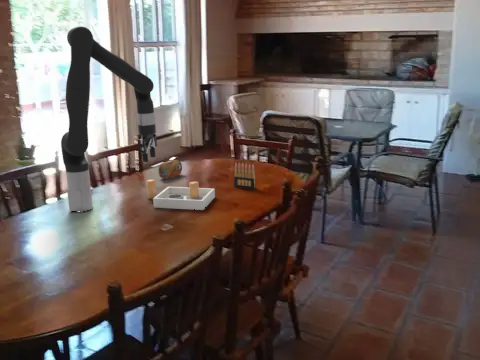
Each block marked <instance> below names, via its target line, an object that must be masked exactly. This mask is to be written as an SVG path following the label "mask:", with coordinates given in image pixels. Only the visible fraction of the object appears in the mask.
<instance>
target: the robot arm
mask: <svg viewBox="0 0 480 360" xmlns="http://www.w3.org/2000/svg"><path fill="white" fill-rule="evenodd" d="M66 38H67V40H66V41H67V43H68V44H69V46H70V53H71V54H70V66H69V70H68V73H67V76H66V82H65V83H66V85H65V105H66V109H67V114H68V122H69V123H68V131H67V132H65V133H64V134H63V135H62V137H61V140H60V146H61V154H62V160H63V161H62V162H63V165H64V167H65V174H66V175H65V176H66V183H67V184H66V185H67V201H68V208H69V212H70V211H80V212H79V213H84V212H83V211H85V212H88V211H87V210H89V211H90V209H91V210H92V209H93V207H94V206H93V197H92V189H91V179H90V178H91V177H90V167H89V162H88V161H87V157H86V152H87V150H88V148H89V133H88V130H89V129H88V119H89V107H90V106H89V105H90V95H91V92H90V91H91V58H92V59H93V60H95V61H96V62H98V63H99V64H100V65H101V66H103V67H105V68H106V69H107V70H109V71H110V73H112V74H113V75H115V77H118V78H119V79H121V80H122V81H124V82H126V83H128V84H129V85H131V87H133V91H134V95H135V100H136V111H137V116H136V117H137V119H136V120H137V128H138V135H140V136H141V137H142V138H139V139H138V147H139V148H138V149H139V154H142V162H144V163H148V162H149V157H150V158H155V157H156V148H157V147H158V141H157V125H156V116H155V111H154V110H155V106H154V101H153V99H152V96H151V92H153V89H154V87H155V86H154V82H153V80H152V79H151V78H150V77H149V76H147V75H146V74H144V73H142V72H141V71H139V70H137V69H136V68H135V67H134V66H132V65H131V64H130V63H128V62H127V61H126V60H125V59H123V58H122V57H120V56H118V55H117V54H115V53H113V52H112V51H110V50H108V49H107V48H106V47H103V45H101V44H99V42H97V41H96V40H95V39H94V35H93V33H92V31H91V30H90V29H89V28H87V27H86V26H82V25H81V26H80V25H79V26H75V27H73V28H71V29H70V30H68V33H67V36H66ZM148 151H149V152H148ZM148 153H149V154H148ZM149 155H150V156H149Z"/></svg>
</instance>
